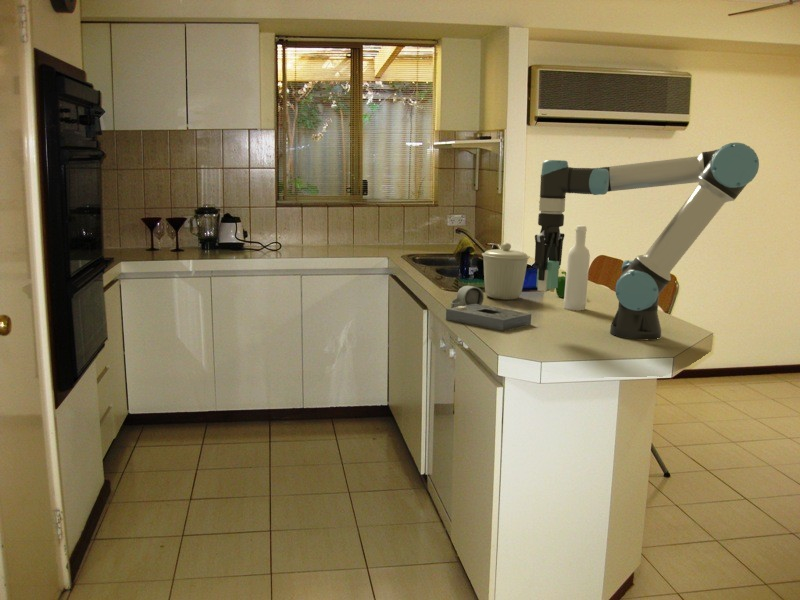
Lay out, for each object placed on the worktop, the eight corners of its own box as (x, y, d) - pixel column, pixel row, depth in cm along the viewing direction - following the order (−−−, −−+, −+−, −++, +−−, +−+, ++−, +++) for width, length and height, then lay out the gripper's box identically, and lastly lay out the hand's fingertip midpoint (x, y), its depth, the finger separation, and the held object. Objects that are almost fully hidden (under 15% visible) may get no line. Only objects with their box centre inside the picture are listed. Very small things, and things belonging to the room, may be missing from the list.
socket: (530, 324, 252) (531, 311, 251) (502, 331, 240) (503, 317, 239) (474, 313, 266) (475, 301, 265) (445, 319, 254) (446, 306, 253)
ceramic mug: (473, 304, 284) (474, 283, 283) (483, 308, 276) (484, 287, 275) (446, 305, 280) (447, 284, 279) (456, 309, 273) (457, 288, 271)
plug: (557, 291, 237) (559, 261, 236) (550, 293, 235) (552, 262, 233) (542, 289, 241) (544, 259, 239) (536, 290, 238) (537, 260, 236)
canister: (527, 295, 308) (531, 242, 305) (526, 303, 291) (530, 246, 287) (480, 292, 311) (484, 239, 308) (477, 299, 294) (480, 243, 290)
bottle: (570, 311, 280) (578, 226, 274) (558, 306, 287) (565, 224, 282) (589, 310, 283) (597, 227, 277) (577, 306, 290) (584, 224, 285)
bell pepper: (579, 299, 306) (581, 273, 305) (560, 299, 304) (562, 273, 303) (570, 295, 314) (572, 270, 313) (551, 295, 312) (553, 270, 311)
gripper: (555, 211, 242) (549, 286, 246) (525, 212, 230) (520, 291, 234) (576, 212, 238) (571, 289, 242) (547, 214, 225) (542, 294, 229)
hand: (546, 290), depth 238 cm, fingers closed on plug, 4 cm apart
